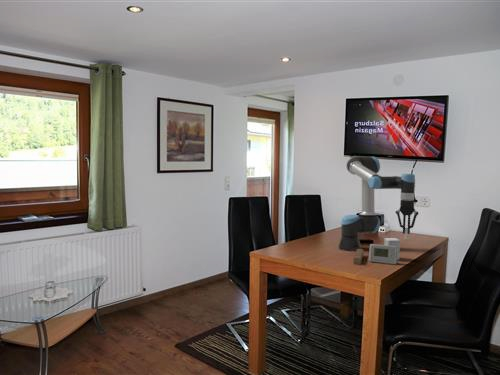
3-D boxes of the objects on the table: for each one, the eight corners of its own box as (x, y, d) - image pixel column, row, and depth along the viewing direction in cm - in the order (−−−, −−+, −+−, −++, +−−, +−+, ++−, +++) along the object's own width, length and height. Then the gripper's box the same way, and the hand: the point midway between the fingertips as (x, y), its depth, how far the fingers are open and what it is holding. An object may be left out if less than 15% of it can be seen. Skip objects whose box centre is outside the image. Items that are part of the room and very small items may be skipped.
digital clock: (367, 262, 242) (367, 245, 242) (371, 259, 250) (372, 242, 249) (394, 266, 233) (395, 248, 233) (398, 263, 241) (399, 245, 240)
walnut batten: (356, 254, 260) (357, 248, 260) (363, 255, 259) (363, 249, 259) (353, 263, 238) (353, 257, 237) (360, 264, 236) (360, 258, 236)
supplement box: (395, 257, 255) (395, 237, 254) (399, 260, 248) (400, 240, 247) (383, 257, 255) (384, 237, 254) (387, 260, 247) (388, 240, 246)
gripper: (395, 199, 233) (394, 239, 235) (419, 200, 229) (418, 241, 230) (395, 198, 240) (394, 237, 242) (418, 199, 236) (417, 238, 237)
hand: (406, 239), depth 236 cm, fingers closed
